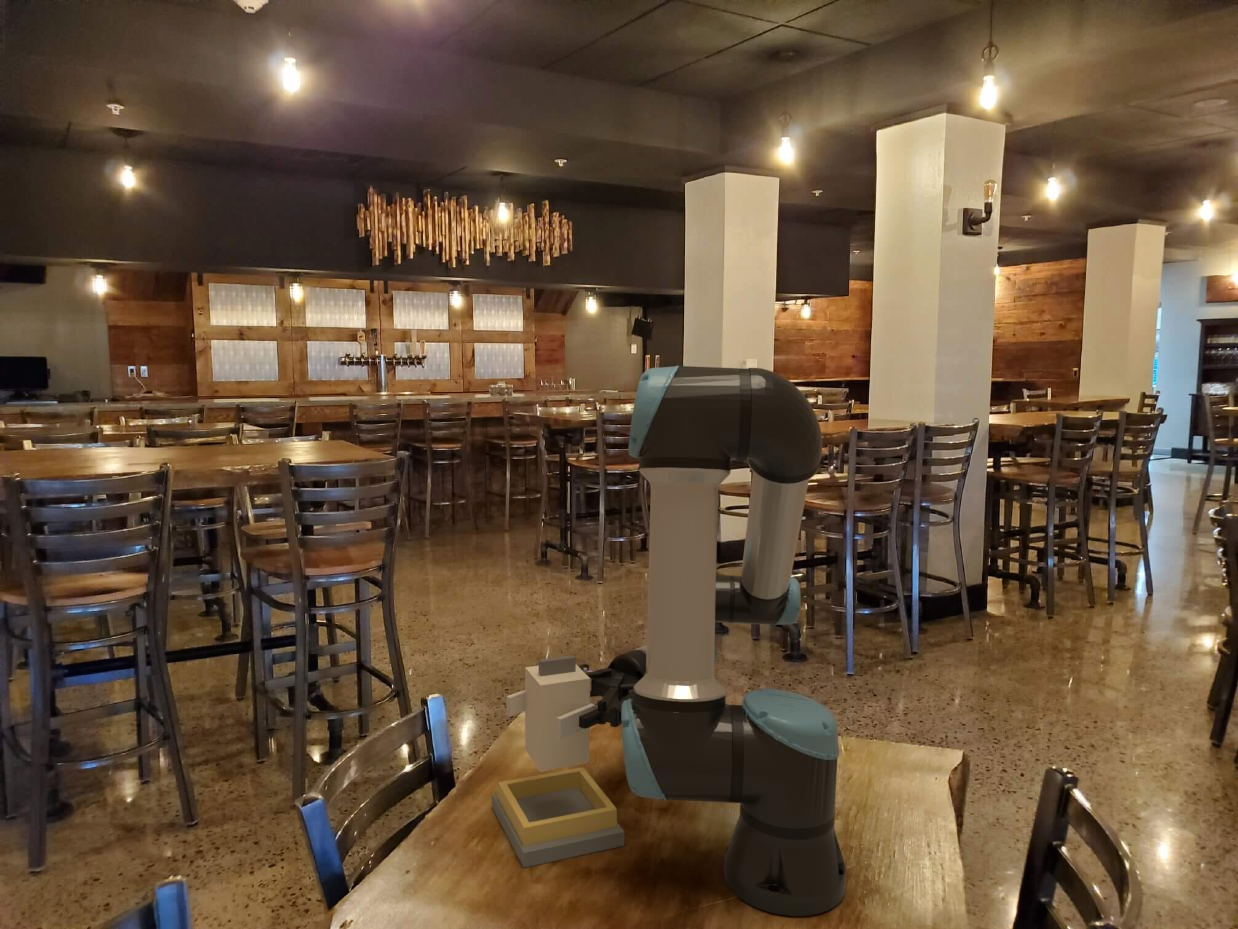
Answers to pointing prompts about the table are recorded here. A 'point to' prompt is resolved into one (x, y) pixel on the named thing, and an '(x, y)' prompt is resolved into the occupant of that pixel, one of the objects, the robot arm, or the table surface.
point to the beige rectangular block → (555, 712)
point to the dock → (556, 816)
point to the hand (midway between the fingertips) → (532, 717)
